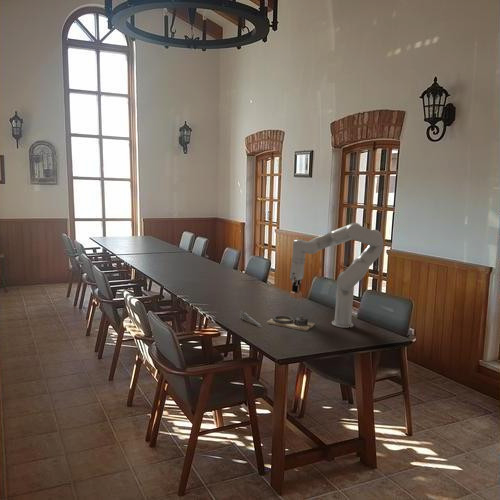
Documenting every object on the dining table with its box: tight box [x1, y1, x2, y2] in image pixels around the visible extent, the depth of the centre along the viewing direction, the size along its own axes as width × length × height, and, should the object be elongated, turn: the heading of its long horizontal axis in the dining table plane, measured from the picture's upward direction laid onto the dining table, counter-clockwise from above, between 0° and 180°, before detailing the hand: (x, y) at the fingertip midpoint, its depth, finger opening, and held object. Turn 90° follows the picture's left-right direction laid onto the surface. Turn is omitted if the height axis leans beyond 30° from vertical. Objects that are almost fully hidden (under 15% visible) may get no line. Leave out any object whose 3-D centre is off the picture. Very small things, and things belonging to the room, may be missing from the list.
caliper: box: [239, 308, 263, 328], centre depth 281 cm, size 20×1×6 cm, turn 36°
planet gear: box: [289, 284, 303, 300], centre depth 291 cm, size 7×7×8 cm
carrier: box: [266, 314, 316, 332], centre depth 282 cm, size 14×24×6 cm, turn 62°
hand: (296, 290), depth 291 cm, fingers closed on planet gear, 3 cm apart
